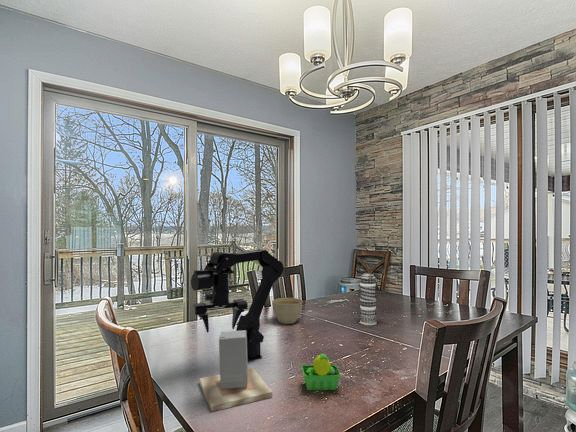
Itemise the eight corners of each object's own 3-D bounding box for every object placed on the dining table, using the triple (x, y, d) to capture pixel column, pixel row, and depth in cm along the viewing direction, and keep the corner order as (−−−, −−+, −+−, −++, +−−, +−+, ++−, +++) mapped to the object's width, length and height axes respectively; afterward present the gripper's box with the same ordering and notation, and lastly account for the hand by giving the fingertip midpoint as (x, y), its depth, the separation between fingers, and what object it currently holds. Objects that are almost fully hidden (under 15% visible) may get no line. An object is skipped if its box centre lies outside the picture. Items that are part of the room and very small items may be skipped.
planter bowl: (303, 317, 181) (303, 297, 181) (301, 326, 165) (301, 304, 165) (274, 317, 183) (274, 297, 183) (269, 325, 166) (269, 304, 167)
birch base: (252, 372, 114) (252, 367, 114) (272, 396, 98) (272, 391, 98) (199, 383, 106) (199, 378, 107) (211, 411, 90) (211, 405, 90)
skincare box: (248, 378, 106) (248, 329, 106) (247, 389, 99) (247, 336, 99) (221, 379, 105) (221, 329, 106) (218, 391, 98) (218, 337, 99)
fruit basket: (336, 380, 108) (336, 345, 109) (341, 394, 99) (341, 356, 100) (301, 380, 108) (301, 346, 108) (303, 394, 99) (303, 356, 99)
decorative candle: (373, 326, 165) (372, 276, 165) (356, 323, 170) (355, 274, 171) (380, 322, 172) (379, 273, 173) (363, 319, 178) (363, 272, 178)
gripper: (239, 281, 130) (239, 321, 130) (190, 285, 123) (190, 327, 122) (248, 286, 120) (248, 329, 120) (195, 290, 112) (195, 337, 112)
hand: (220, 330), depth 119 cm, fingers open, 9 cm apart
